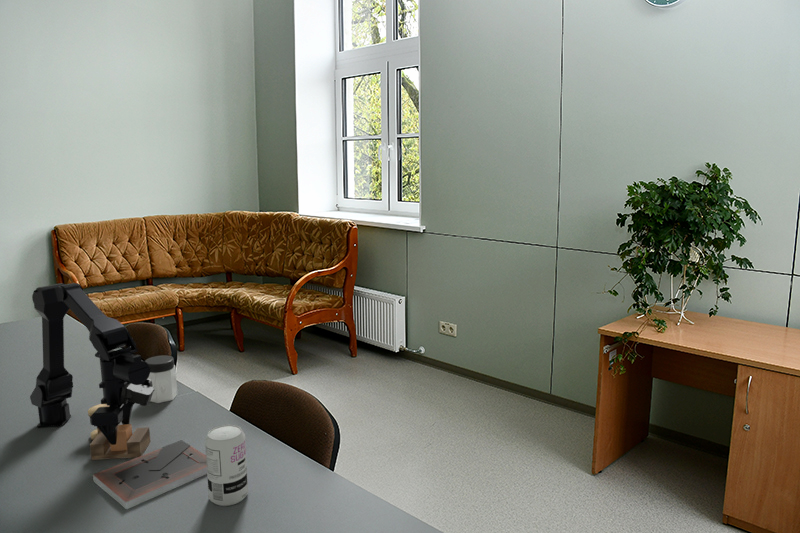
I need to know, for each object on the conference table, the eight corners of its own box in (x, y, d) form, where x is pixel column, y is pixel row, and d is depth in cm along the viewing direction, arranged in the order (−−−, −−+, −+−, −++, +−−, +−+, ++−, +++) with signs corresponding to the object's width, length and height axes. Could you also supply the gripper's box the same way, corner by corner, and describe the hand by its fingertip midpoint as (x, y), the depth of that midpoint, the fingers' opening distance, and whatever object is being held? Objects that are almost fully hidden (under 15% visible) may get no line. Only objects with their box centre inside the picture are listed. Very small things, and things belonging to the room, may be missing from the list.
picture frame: (182, 448, 153) (93, 483, 137) (181, 439, 153) (92, 473, 137) (218, 471, 142) (126, 512, 127) (217, 461, 142) (125, 501, 126)
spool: (86, 442, 155) (83, 415, 154) (96, 430, 162) (94, 403, 161) (114, 440, 156) (112, 413, 155) (124, 428, 163) (121, 402, 162)
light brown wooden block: (111, 451, 149) (109, 432, 148) (116, 443, 153) (114, 424, 152) (127, 450, 149) (126, 431, 148) (133, 442, 153) (131, 424, 152)
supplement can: (213, 487, 135) (209, 424, 132) (251, 485, 135) (247, 422, 132) (205, 508, 127) (200, 442, 124) (245, 506, 127) (241, 440, 124)
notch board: (91, 459, 147) (89, 444, 146) (103, 444, 154) (102, 429, 154) (140, 457, 148) (139, 441, 147) (150, 441, 156) (149, 427, 155)
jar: (149, 405, 178) (146, 366, 175) (143, 396, 184) (140, 358, 182) (180, 398, 183) (178, 360, 180) (174, 389, 189) (171, 353, 187)
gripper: (136, 389, 139) (142, 452, 142) (159, 361, 157) (164, 417, 160) (86, 391, 138) (92, 454, 141) (114, 363, 156) (120, 419, 159)
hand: (120, 435), depth 150 cm, fingers open, 9 cm apart
